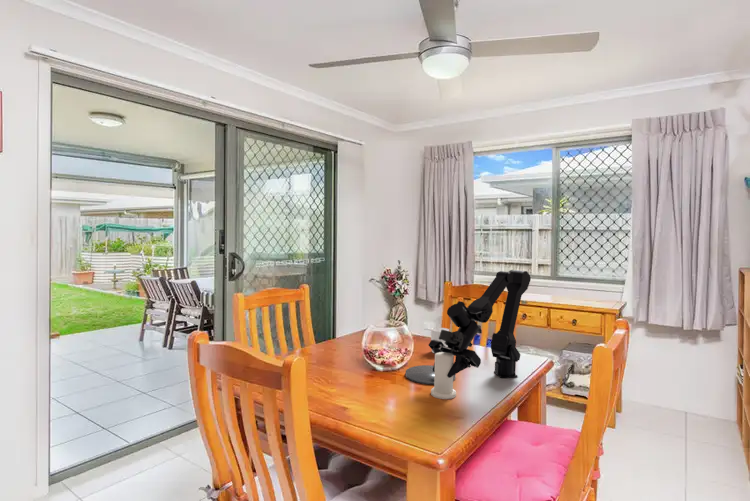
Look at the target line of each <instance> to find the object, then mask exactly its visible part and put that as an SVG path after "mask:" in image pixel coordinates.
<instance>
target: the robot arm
mask: <svg viewBox="0 0 750 501" xmlns="http://www.w3.org/2000/svg"><path fill="white" fill-rule="evenodd" d="M531 278H532V277H531V275H530V273H529V272H528V271H525V270H516V269H510V270H509V271H503V270H502V271H501V270H500V271H497V272H496V275H495V277H494V278H493V280H492V281H491V283H490V284H489V285H488V287H487V289H486V290H485V291H484V292H483V293H482V295H481V296H479V297H478V298H476V299H475V300H473V301H472V302H470V304H469V305H468V306H466V304H465V302H464V301H460V300H458V301H457V303H454V304H452V305H450V306H449V307H448V308H447V310H446V314H447V316H448V317H449V319H450V320H451V321H452V323H453V324H454V326H456V327H457V330H454V331H450V330H449V331H446V330H441V333H440V336H439V339H440V340H441V339H442V340H444V341H445V344H446V345H447V346H448V347H445V346H444V345H443V343H442V342H441V341H437V340H431V339H430V342H429V343H428V346H429V348H430V349H431V351H432V350H433V351H434V353H433V354H434V355H435V354H436V353H439V352H446V353H451V354H453V355H454V357H455V359H454V360H455V361H454V364H453V366H452V367H451V369H450V371H449V373H448V375H447V376H448V378H450V377H452V376H453V375H455V374H456V375H457V374H458V373H461V372H462V371H464V370H465V369H469V368H471V367H474V368H477V369H478V368H479V367H480V365H481V364H482V358H480V356H479V355H478V354H477V352H476V351H475V350H472V349H469V347H470V348H471V347H472V346H473V343H472V341H473V339H474V338H475V336H476V335H477V334H481V335H482V333H483V331H482V327H481V326H482V325H481V324H478V323H482V324H485V323H486V324H487V322H489V320H490V318H491V316H492V314H493V312H494V311H493V309H494V308H493V307H494V304H495V303H496V302H497V301H498V299H499V297H500V296H501V295H502V293H504V290H505V289H506V290H507V295H506V299H505V304H504V307H503V308H504V309H503V314H502V319H501V322H500V326H499V330H498V331H497V332H496V333H495V332H493V333H492V335H491V341H490V351H491V353H492V354H491V355H492V357H493V358H495V360H496V361H494V371H493V374H495V375H497V376H498V377H499V378H501V379H503V378H504V379H508V378H509V379H510V378H518V377H519V376H518V375H517V374H516V366H517V364H516V363H517V362H519V361H520V359H521V353H520V352H519V349H517V340H516V337H515V334H514V332H515V327H516V323H517V320H518V319H517V318H518V314H519V310H520V305H521V304H520V303H521V299H522V295H524V293H526V291H527V290H528V288H529V286H530V283H531ZM433 366H434V367H433V372H435V361H434V363H433Z"/></svg>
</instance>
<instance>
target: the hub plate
mask: <svg viewBox="0 0 750 501" xmlns="http://www.w3.org/2000/svg"><path fill="white" fill-rule="evenodd" d="M433 367H434V365H431V364H430V365H429V364H427V365H416V366H411V367H409V368H407V369H406V370H405V377H406V379H408V380H409V381H411V382H413V383H418V384H422V385H430V386H434V374H435V372H433ZM456 376H457V374H455V375H453V382H454V381H456V379H457V378H456Z"/></svg>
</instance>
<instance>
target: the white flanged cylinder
mask: <svg viewBox="0 0 750 501" xmlns="http://www.w3.org/2000/svg"><path fill="white" fill-rule="evenodd" d="M454 358H455V356H454V355H453V354H451V353H446V352H439V353H436V354H435V353H434V362H435V374H434V385H433V387H432V388H431V389H430V395H431V396H432V397H434V398H435V399H440V400H451V399H455V398H456V397H457V391H456V389H454V381H453V376H452V377H450V378H448V376H447V375H448V373H449V371H450V369H451V367H452V366H453V364H454V362H455V361H454V360H455V359H454Z"/></svg>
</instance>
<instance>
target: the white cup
mask: <svg viewBox="0 0 750 501" xmlns="http://www.w3.org/2000/svg"><path fill="white" fill-rule="evenodd" d="M441 330H446V331H449V332H450V329H449V328H446V327H432V328H430V341H431V340H437V341H441V342H442V343H443V345H444V346H445V347H448V346H447V345H446V344H445V341H444V340H442V339H441V340H440V339H439V336H440V333H441ZM431 352H432V353H433V354H435V353H434V351H433V350H432V349H431Z"/></svg>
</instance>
